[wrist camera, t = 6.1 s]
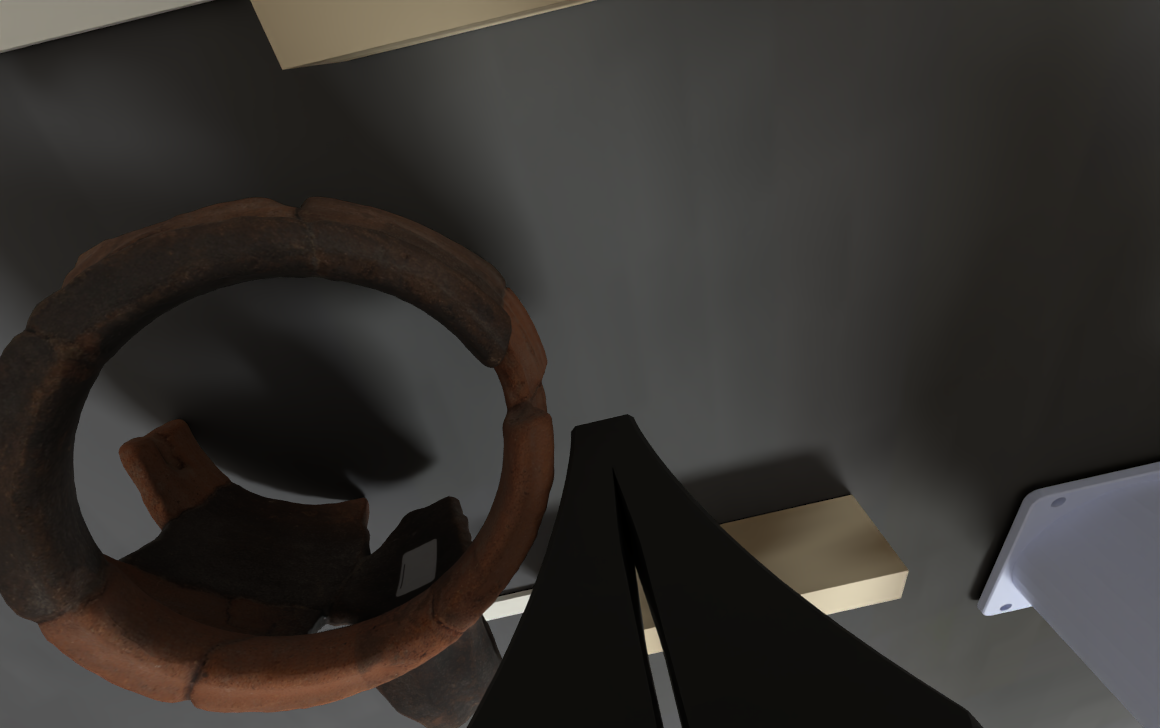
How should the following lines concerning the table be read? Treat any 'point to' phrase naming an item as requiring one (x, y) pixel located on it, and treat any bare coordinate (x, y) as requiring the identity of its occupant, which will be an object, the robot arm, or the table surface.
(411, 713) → the pottery mug
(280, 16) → the cradle
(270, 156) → the table surface
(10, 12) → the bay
